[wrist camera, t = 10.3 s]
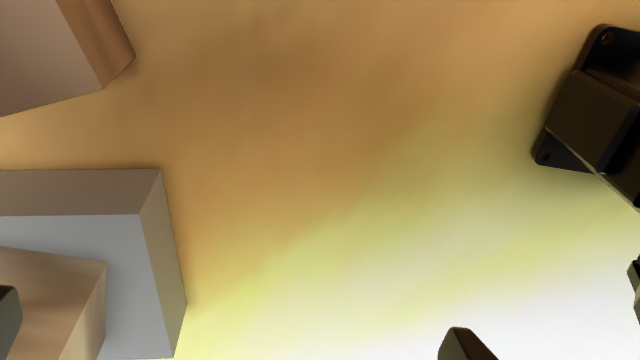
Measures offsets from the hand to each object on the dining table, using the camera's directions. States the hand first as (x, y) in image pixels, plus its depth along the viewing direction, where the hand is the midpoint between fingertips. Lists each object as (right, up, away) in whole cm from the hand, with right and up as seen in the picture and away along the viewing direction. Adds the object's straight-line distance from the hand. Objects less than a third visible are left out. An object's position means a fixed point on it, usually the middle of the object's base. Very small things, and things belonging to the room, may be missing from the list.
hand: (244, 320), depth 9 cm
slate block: (-10, 0, +14) cm, 17 cm away
